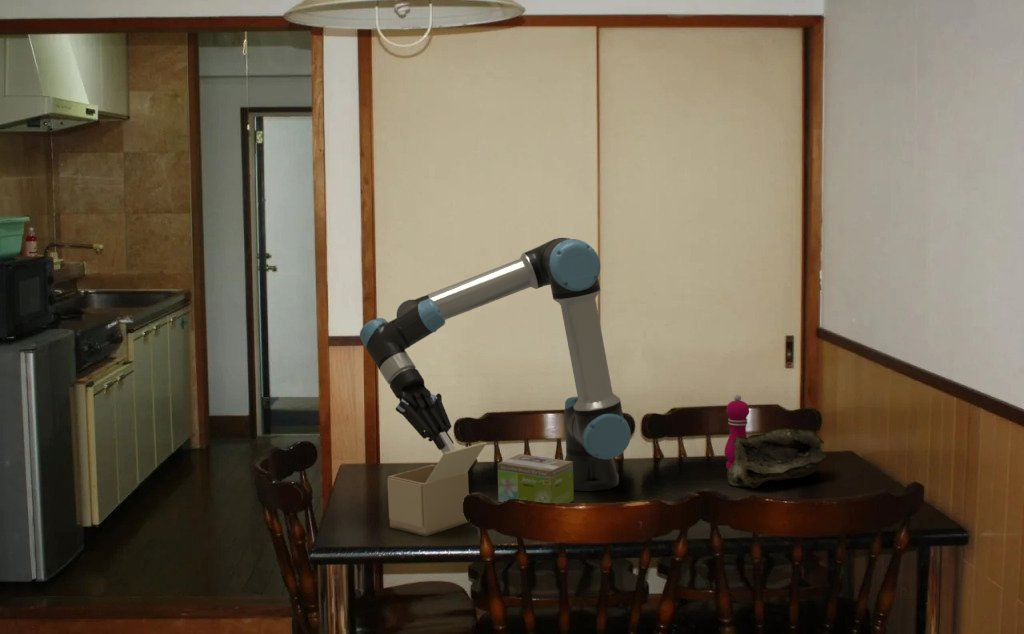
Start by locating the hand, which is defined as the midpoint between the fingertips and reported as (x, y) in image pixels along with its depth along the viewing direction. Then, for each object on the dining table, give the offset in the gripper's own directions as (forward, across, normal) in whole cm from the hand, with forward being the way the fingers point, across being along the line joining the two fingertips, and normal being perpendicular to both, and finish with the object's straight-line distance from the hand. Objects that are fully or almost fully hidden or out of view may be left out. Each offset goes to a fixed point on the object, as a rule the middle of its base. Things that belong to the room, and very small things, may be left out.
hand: (454, 458), depth 272 cm
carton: (+6, -1, -19) cm, 20 cm away
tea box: (+19, -17, -5) cm, 26 cm away
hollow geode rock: (+36, -81, +13) cm, 90 cm away
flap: (+1, -1, -6) cm, 6 cm away
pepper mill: (+25, -87, +2) cm, 91 cm away
